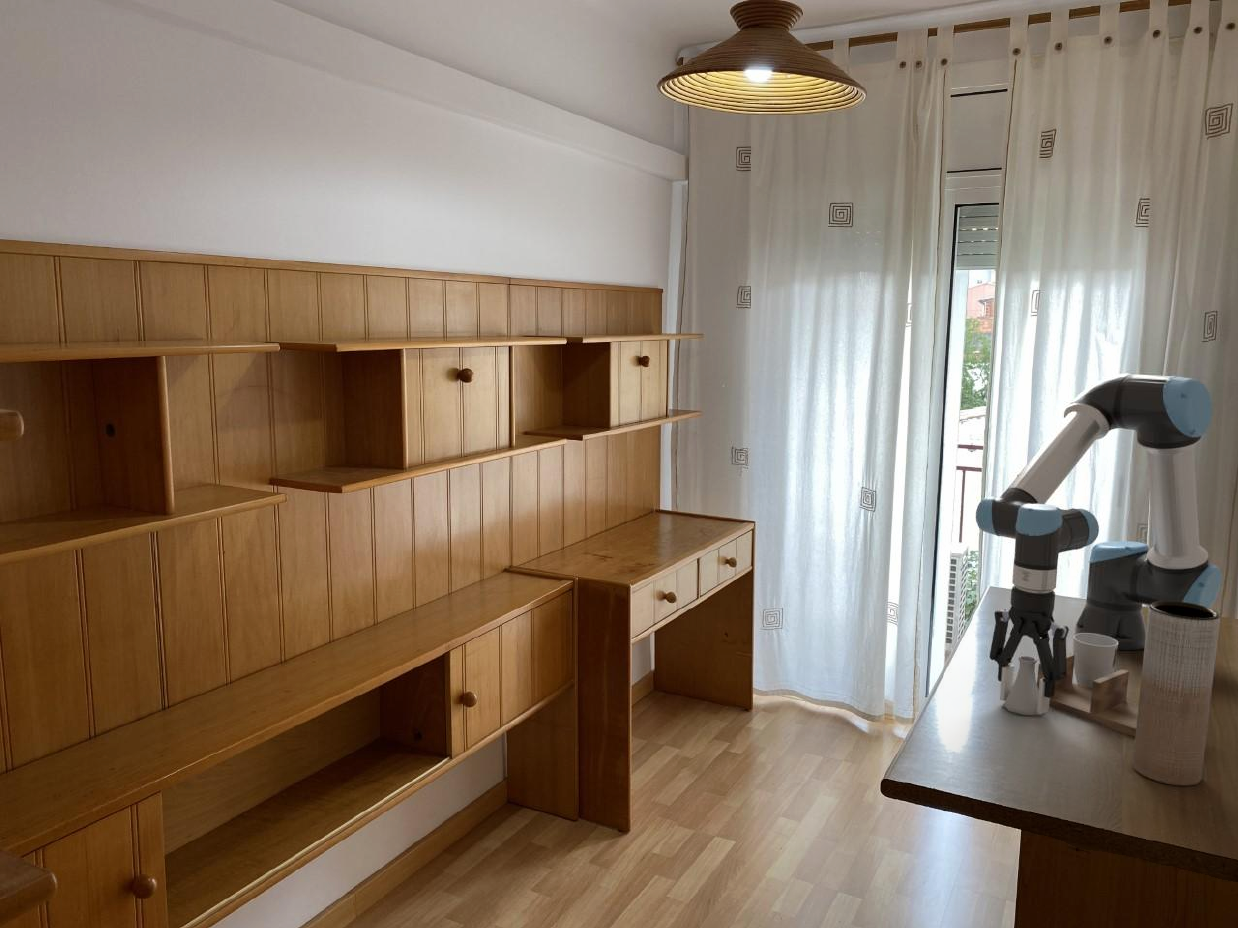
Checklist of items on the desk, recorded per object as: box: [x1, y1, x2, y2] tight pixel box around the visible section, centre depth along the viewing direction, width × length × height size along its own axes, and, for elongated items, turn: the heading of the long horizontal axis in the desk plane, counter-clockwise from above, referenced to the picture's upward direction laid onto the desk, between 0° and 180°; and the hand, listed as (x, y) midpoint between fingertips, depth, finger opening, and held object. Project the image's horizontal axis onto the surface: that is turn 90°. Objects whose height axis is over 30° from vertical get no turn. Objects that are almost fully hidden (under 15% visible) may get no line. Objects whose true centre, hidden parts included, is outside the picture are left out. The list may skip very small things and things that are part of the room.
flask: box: [1003, 655, 1042, 716], centre depth 184 cm, size 7×7×10 cm
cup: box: [1072, 633, 1118, 689], centre depth 197 cm, size 8×8×10 cm
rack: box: [1036, 653, 1139, 738], centre depth 184 cm, size 12×23×8 cm, turn 36°
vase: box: [1132, 601, 1221, 787], centre depth 158 cm, size 10×10×28 cm
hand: (1023, 704), depth 185 cm, fingers closed on flask, 7 cm apart
